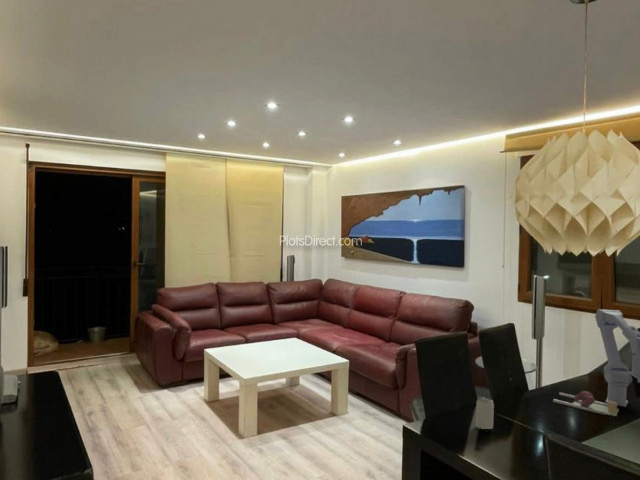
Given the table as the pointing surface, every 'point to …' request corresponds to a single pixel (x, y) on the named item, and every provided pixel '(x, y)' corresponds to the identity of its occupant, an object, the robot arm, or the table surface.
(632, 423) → the table surface
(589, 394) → the purple lumpy piece
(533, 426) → the table surface
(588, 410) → the aluminium rails
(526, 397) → the table surface
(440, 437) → the table surface
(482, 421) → the can
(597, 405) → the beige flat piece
